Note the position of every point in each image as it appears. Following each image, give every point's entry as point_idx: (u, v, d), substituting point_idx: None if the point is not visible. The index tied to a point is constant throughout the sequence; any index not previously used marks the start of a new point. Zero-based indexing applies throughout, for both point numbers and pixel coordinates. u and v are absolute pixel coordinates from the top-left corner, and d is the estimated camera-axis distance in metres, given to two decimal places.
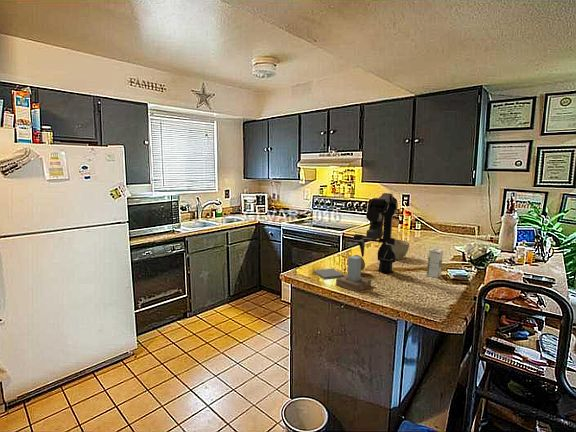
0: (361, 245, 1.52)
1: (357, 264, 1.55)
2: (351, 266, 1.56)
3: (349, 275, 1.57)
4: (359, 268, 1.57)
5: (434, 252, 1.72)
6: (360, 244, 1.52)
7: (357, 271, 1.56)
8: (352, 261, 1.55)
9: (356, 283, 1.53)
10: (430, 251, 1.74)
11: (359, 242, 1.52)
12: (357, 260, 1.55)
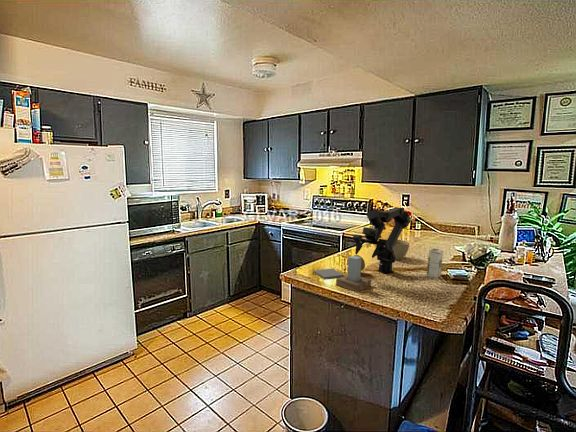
0: (357, 243, 1.67)
1: (357, 264, 1.55)
2: (351, 266, 1.56)
3: (349, 275, 1.57)
4: (359, 268, 1.57)
5: (434, 252, 1.72)
6: (357, 242, 1.68)
7: (357, 271, 1.56)
8: (352, 261, 1.55)
9: (356, 283, 1.53)
10: (430, 251, 1.74)
11: (356, 240, 1.68)
12: (357, 260, 1.55)
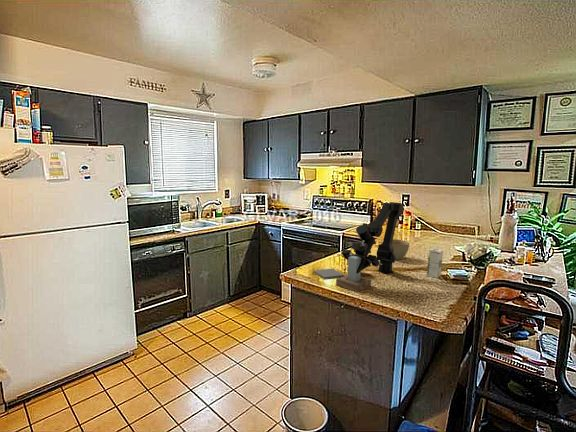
0: None
1: (357, 264, 1.55)
2: (351, 266, 1.56)
3: (349, 275, 1.57)
4: None
5: (434, 252, 1.72)
6: None
7: None
8: (352, 261, 1.55)
9: (356, 283, 1.53)
10: (430, 251, 1.74)
11: (349, 256, 1.61)
12: (357, 260, 1.55)
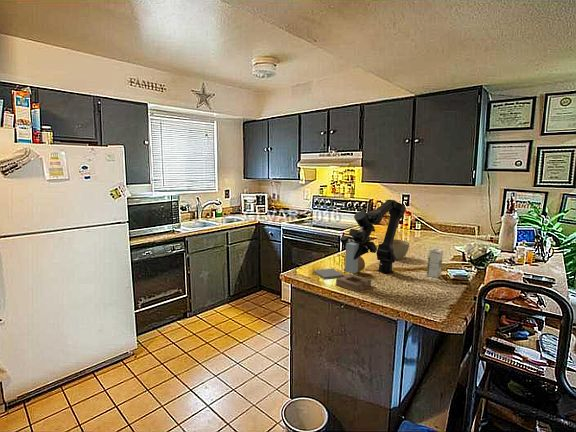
0: None
1: (355, 251, 1.56)
2: (349, 252, 1.56)
3: (347, 261, 1.58)
4: None
5: (434, 252, 1.72)
6: None
7: None
8: (350, 247, 1.56)
9: (356, 283, 1.53)
10: (430, 251, 1.74)
11: None
12: (354, 246, 1.55)
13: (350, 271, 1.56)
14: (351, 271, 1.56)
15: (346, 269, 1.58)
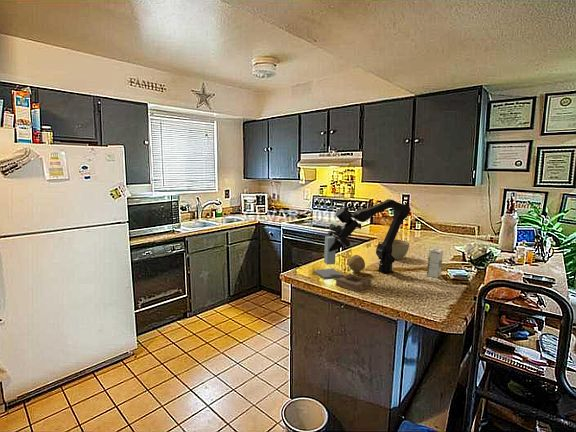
0: None
1: (330, 244, 1.70)
2: (326, 245, 1.71)
3: (325, 253, 1.73)
4: None
5: (434, 252, 1.72)
6: None
7: None
8: (326, 240, 1.71)
9: (356, 283, 1.53)
10: (430, 251, 1.74)
11: None
12: (329, 239, 1.69)
13: (326, 262, 1.71)
14: (326, 262, 1.71)
15: (324, 260, 1.74)
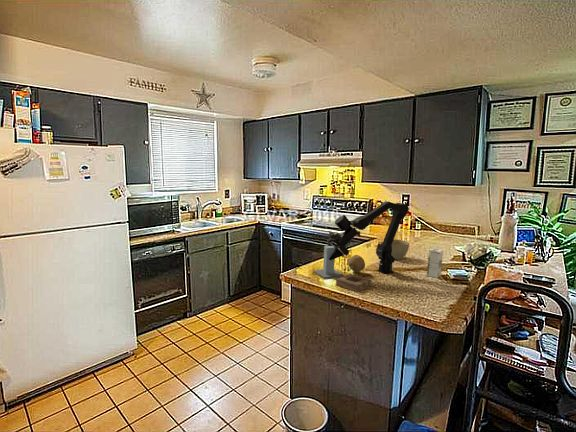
0: None
1: (329, 253, 1.71)
2: (325, 254, 1.73)
3: (324, 262, 1.75)
4: None
5: (434, 252, 1.72)
6: (328, 245, 1.78)
7: None
8: (325, 250, 1.72)
9: (356, 283, 1.53)
10: (430, 251, 1.74)
11: (328, 243, 1.79)
12: (328, 249, 1.71)
13: (325, 271, 1.73)
14: (325, 271, 1.72)
15: (323, 269, 1.75)
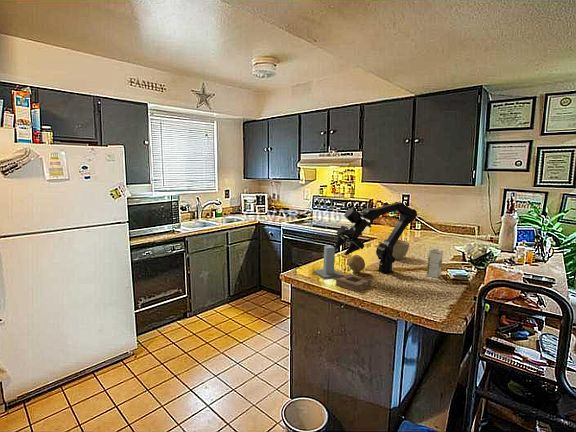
0: (338, 239, 1.77)
1: (329, 253, 1.71)
2: (325, 254, 1.73)
3: (324, 262, 1.75)
4: (332, 257, 1.72)
5: (434, 252, 1.72)
6: (338, 238, 1.77)
7: (329, 259, 1.71)
8: (325, 250, 1.72)
9: (356, 283, 1.53)
10: (430, 251, 1.74)
11: (338, 236, 1.77)
12: (328, 249, 1.71)
13: (325, 271, 1.73)
14: (325, 271, 1.72)
15: (323, 269, 1.75)
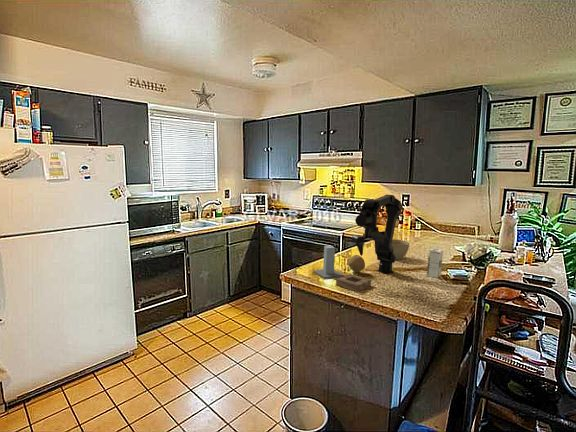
0: (362, 246, 1.62)
1: (329, 253, 1.71)
2: (325, 254, 1.73)
3: (324, 262, 1.75)
4: (332, 257, 1.72)
5: (434, 252, 1.72)
6: (362, 245, 1.61)
7: (329, 259, 1.71)
8: (325, 250, 1.72)
9: (356, 283, 1.53)
10: (430, 251, 1.74)
11: (362, 244, 1.61)
12: (328, 249, 1.71)
13: (325, 271, 1.73)
14: (325, 271, 1.72)
15: (323, 269, 1.75)
